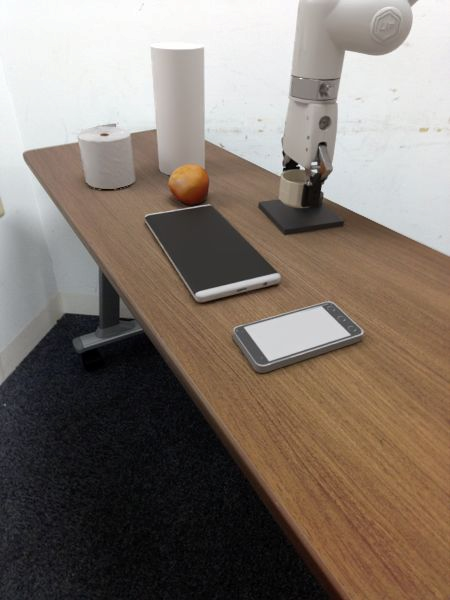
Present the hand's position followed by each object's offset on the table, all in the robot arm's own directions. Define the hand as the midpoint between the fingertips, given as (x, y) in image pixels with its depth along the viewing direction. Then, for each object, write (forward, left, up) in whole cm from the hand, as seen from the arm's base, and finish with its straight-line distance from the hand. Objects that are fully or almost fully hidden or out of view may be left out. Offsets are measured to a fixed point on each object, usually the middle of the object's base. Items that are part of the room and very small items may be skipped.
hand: (298, 196), depth 76 cm
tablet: (+19, +6, -5) cm, 21 cm away
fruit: (+16, -14, -5) cm, 23 cm away
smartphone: (+14, +30, -5) cm, 33 cm away
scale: (-2, -1, -5) cm, 5 cm away
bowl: (0, 0, -1) cm, 1 cm away
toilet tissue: (+30, -29, -5) cm, 43 cm away
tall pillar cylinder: (+13, -32, -5) cm, 36 cm away
